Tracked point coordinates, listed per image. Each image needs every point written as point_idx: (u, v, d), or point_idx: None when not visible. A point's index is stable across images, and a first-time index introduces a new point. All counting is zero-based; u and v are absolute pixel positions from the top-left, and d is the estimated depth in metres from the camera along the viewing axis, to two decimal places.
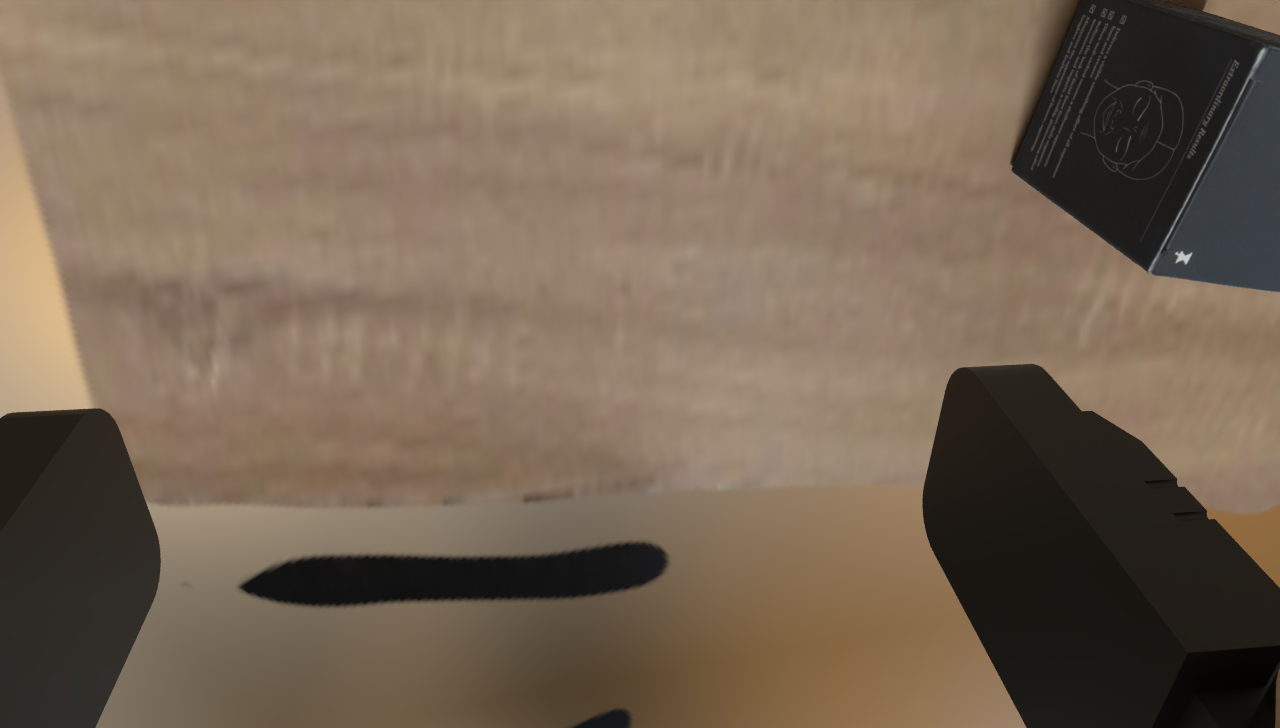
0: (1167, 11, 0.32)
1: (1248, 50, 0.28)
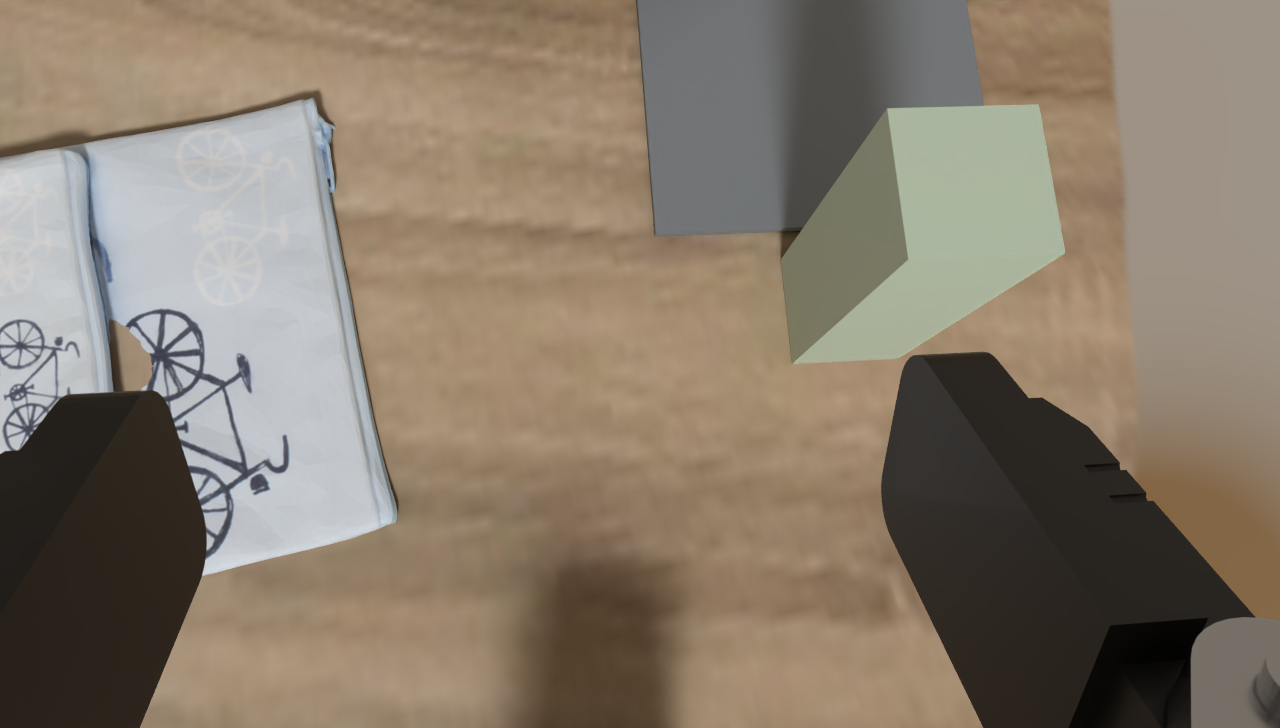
0: None
1: None
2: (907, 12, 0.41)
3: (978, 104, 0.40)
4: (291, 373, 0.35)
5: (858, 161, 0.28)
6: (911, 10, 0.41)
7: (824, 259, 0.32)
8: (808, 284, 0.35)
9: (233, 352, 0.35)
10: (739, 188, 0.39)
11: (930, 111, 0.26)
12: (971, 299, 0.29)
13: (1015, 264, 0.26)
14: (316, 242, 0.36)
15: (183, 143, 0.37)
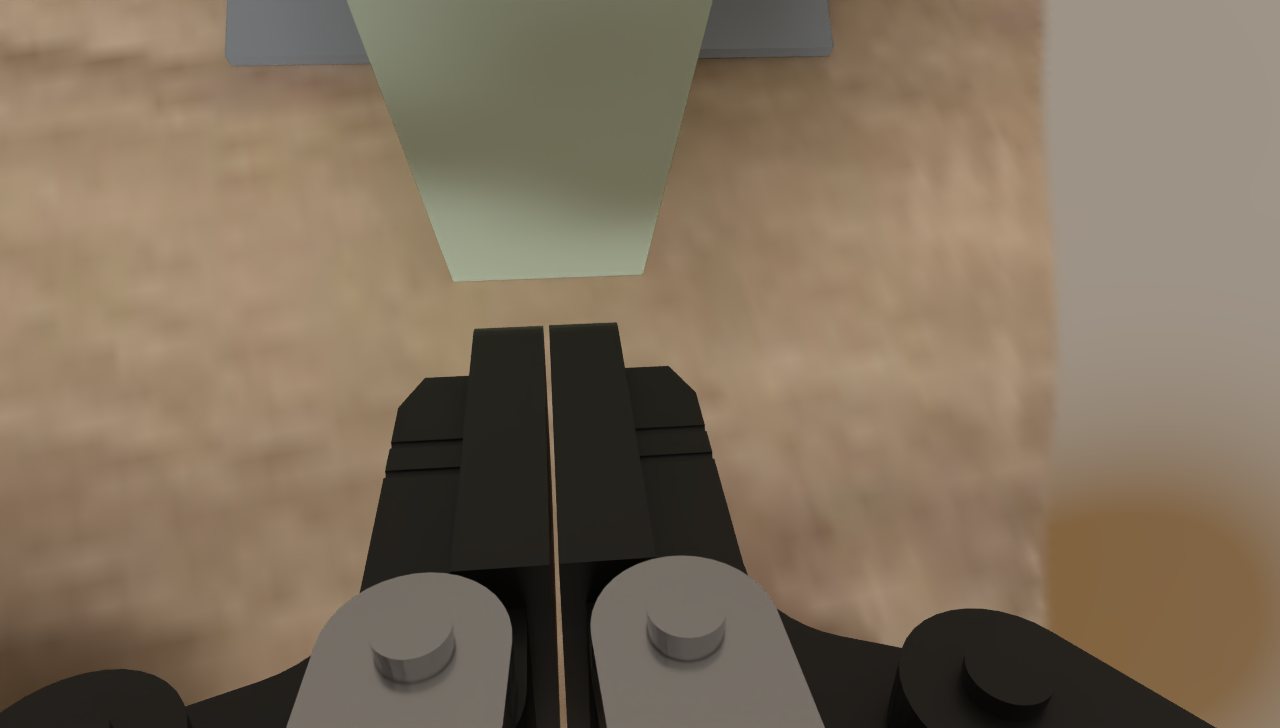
0: None
1: None
2: None
3: None
4: None
5: None
6: None
7: None
8: None
9: None
10: None
11: None
12: (641, 89, 0.14)
13: None
14: None
15: None
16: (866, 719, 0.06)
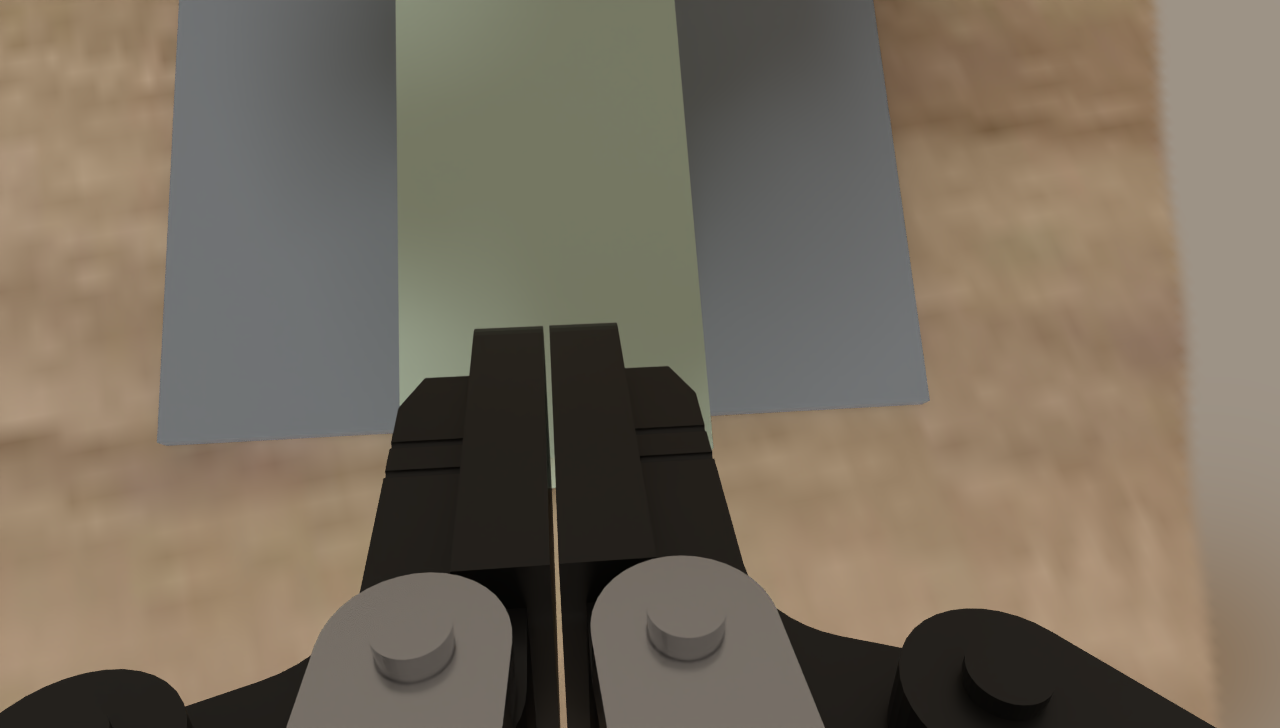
0: None
1: None
2: None
3: (884, 154, 0.20)
4: None
5: None
6: None
7: None
8: None
9: None
10: (358, 338, 0.18)
11: None
12: None
13: None
14: None
15: None
16: (866, 719, 0.06)
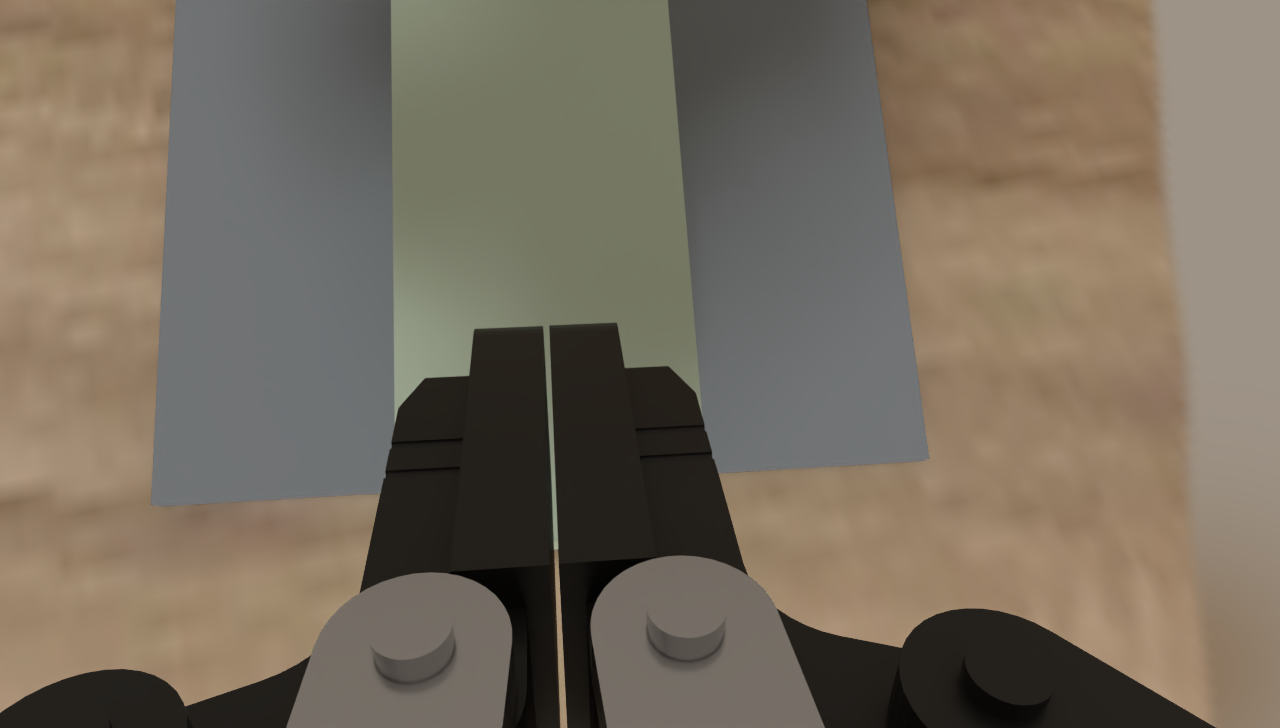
0: None
1: None
2: (744, 17, 0.20)
3: (884, 207, 0.20)
4: None
5: None
6: (752, 13, 0.20)
7: None
8: None
9: None
10: (354, 397, 0.18)
11: None
12: (623, 2, 0.15)
13: None
14: None
15: None
16: (866, 719, 0.06)
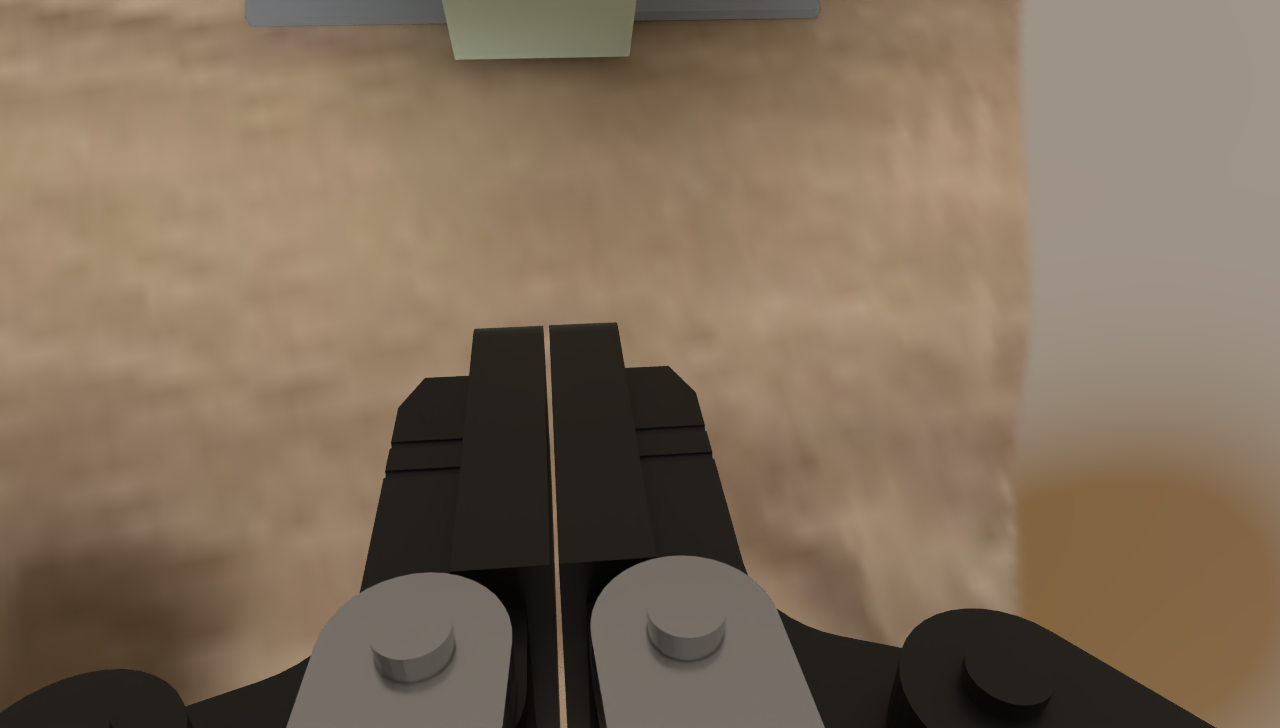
0: None
1: None
2: None
3: None
4: None
5: None
6: None
7: None
8: None
9: None
10: None
11: None
12: None
13: None
14: None
15: None
16: (866, 719, 0.06)
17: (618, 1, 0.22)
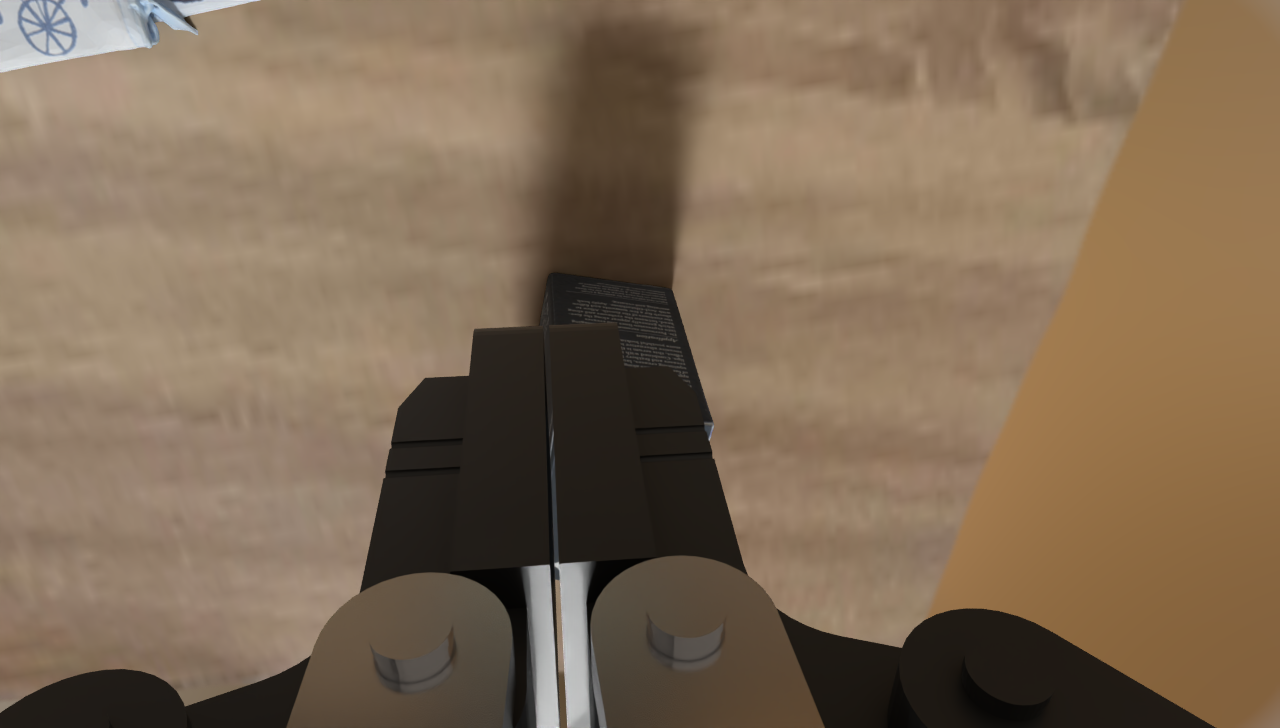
0: None
1: None
2: None
3: None
4: None
5: None
6: None
7: None
8: None
9: None
10: None
11: None
12: None
13: None
14: None
15: None
16: (866, 719, 0.06)
17: None
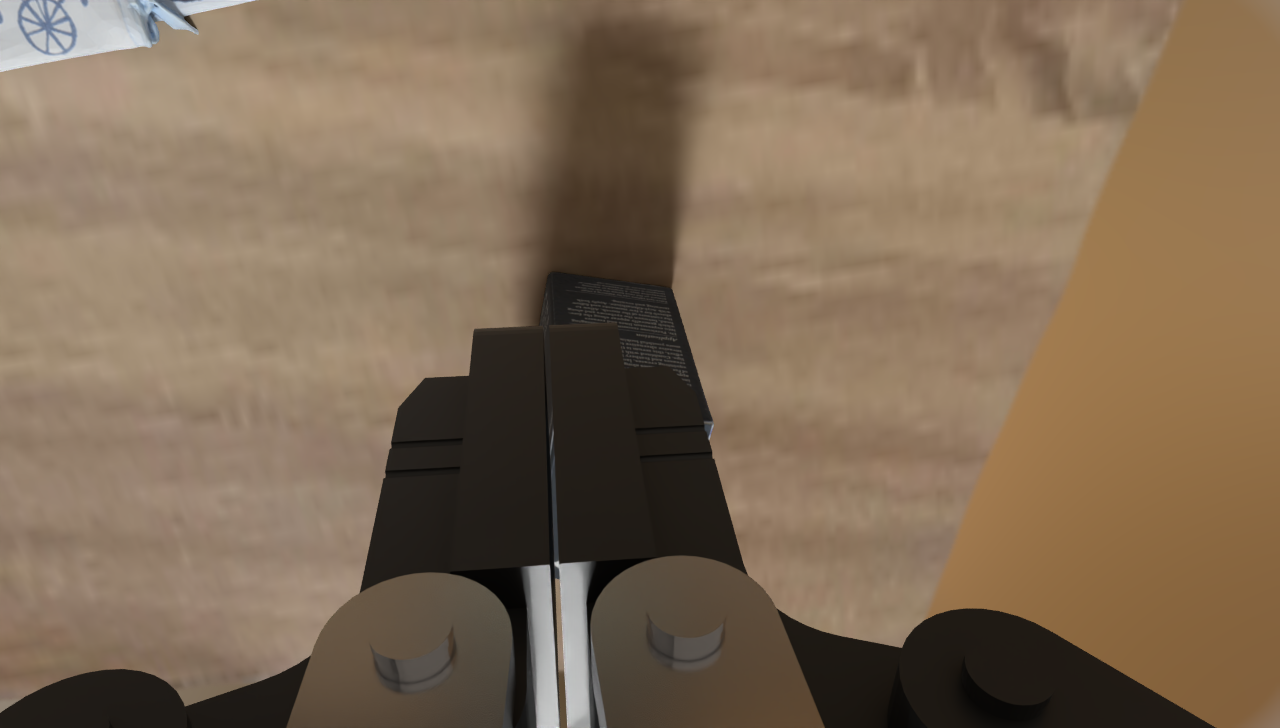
0: None
1: None
2: None
3: None
4: None
5: None
6: None
7: None
8: None
9: None
10: None
11: None
12: None
13: None
14: None
15: None
16: (866, 719, 0.06)
17: None
